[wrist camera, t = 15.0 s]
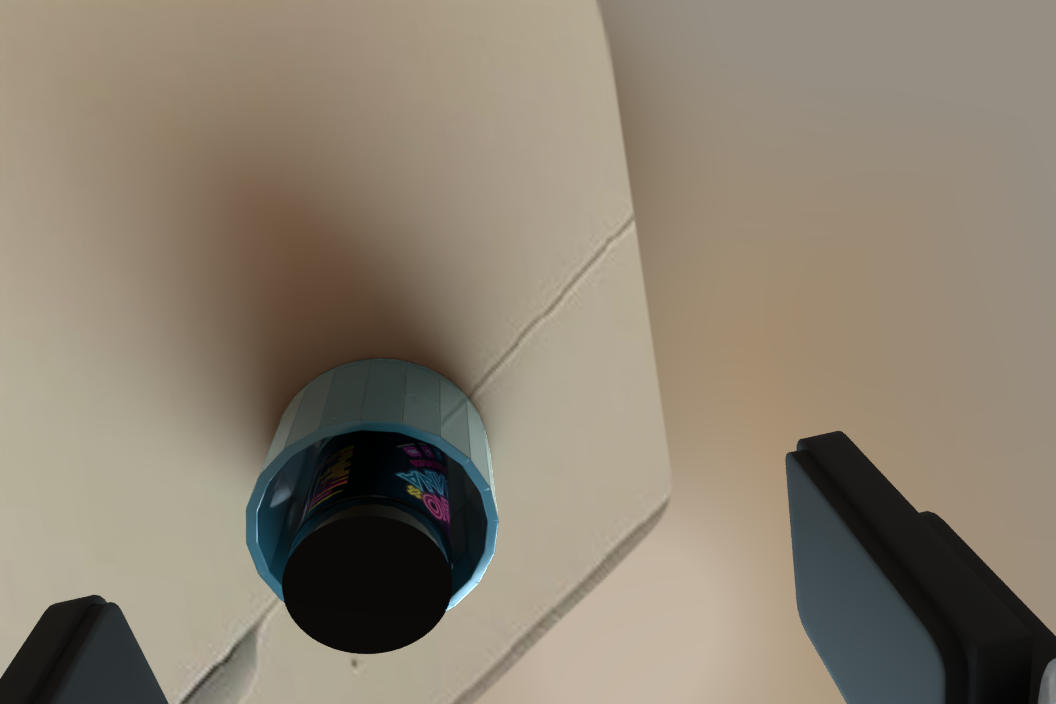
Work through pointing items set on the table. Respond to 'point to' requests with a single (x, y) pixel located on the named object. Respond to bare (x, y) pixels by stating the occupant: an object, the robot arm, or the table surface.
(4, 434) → the table surface
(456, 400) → the cup
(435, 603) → the supplement container
